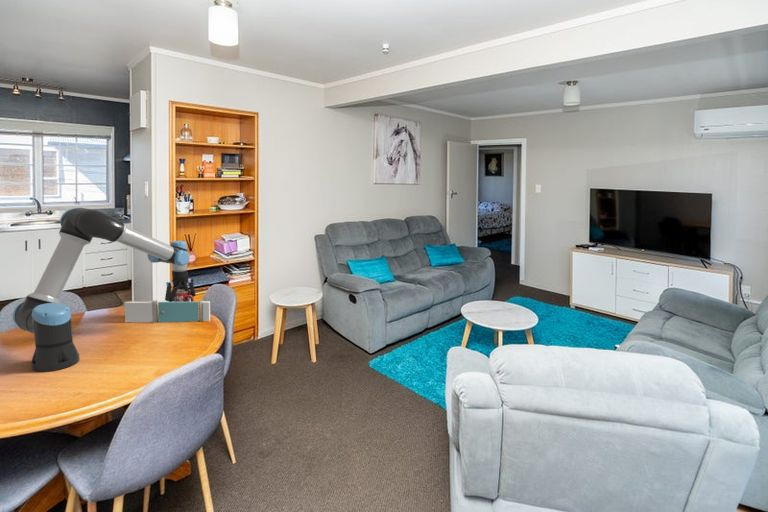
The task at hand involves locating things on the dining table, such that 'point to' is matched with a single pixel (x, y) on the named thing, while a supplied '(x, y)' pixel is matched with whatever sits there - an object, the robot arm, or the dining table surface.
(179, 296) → the mug
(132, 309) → the wall frame
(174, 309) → the door
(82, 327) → the dining table surface
